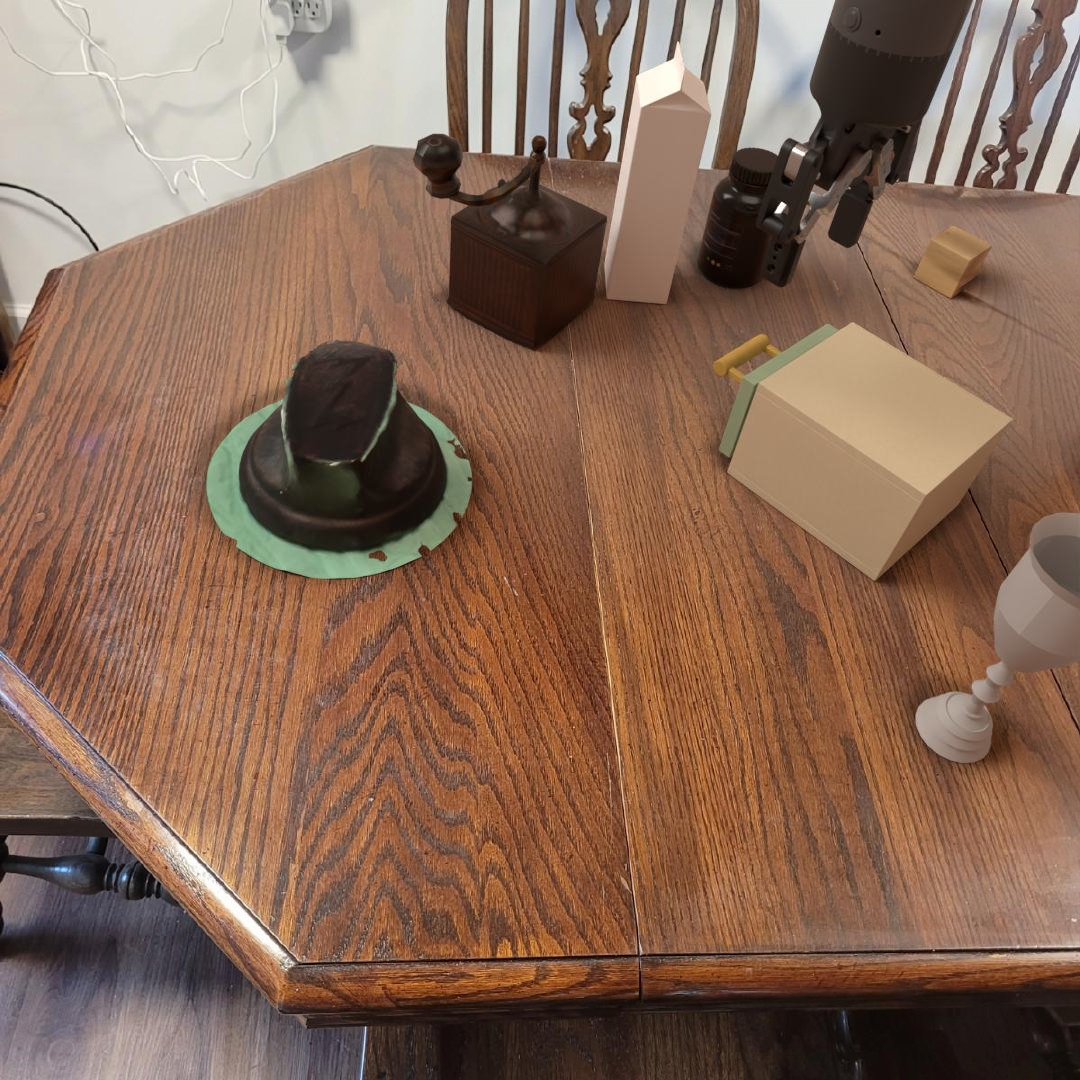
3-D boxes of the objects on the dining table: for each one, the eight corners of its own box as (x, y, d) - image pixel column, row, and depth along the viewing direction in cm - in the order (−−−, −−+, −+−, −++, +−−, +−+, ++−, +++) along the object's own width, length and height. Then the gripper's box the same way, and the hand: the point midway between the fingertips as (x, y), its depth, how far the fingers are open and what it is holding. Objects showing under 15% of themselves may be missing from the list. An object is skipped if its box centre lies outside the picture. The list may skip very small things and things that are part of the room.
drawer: (679, 421, 79) (700, 348, 74) (760, 369, 85) (786, 297, 79) (852, 548, 72) (891, 477, 66) (929, 481, 78) (971, 410, 72)
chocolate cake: (497, 564, 67) (207, 604, 64) (458, 487, 84) (227, 515, 80) (482, 355, 62) (164, 385, 58) (443, 317, 79) (195, 338, 75)
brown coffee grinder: (504, 257, 94) (518, 74, 81) (596, 302, 91) (628, 118, 77) (403, 328, 85) (401, 136, 72) (502, 381, 82) (518, 189, 68)
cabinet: (726, 472, 77) (758, 382, 70) (814, 410, 84) (852, 321, 76) (874, 581, 71) (926, 495, 64) (957, 505, 77) (1013, 418, 70)
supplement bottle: (722, 244, 100) (753, 134, 91) (774, 274, 97) (810, 164, 88) (681, 265, 96) (709, 154, 87) (733, 297, 94) (767, 185, 85)
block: (935, 263, 102) (953, 225, 98) (972, 283, 100) (992, 245, 96) (912, 277, 99) (930, 239, 96) (950, 298, 97) (970, 260, 94)
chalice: (893, 750, 62) (1027, 583, 48) (904, 670, 66) (1031, 496, 52) (1005, 792, 61) (1176, 633, 47) (1010, 708, 65) (1167, 539, 51)
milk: (606, 300, 91) (645, 67, 75) (603, 264, 95) (641, 35, 79) (667, 305, 92) (721, 75, 75) (663, 269, 96) (712, 42, 79)
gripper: (884, 76, 51) (793, 322, 63) (1006, 22, 58) (903, 252, 70) (773, 26, 54) (707, 270, 66) (902, -20, 61) (821, 208, 73)
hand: (808, 260), depth 68 cm, fingers open, 8 cm apart
